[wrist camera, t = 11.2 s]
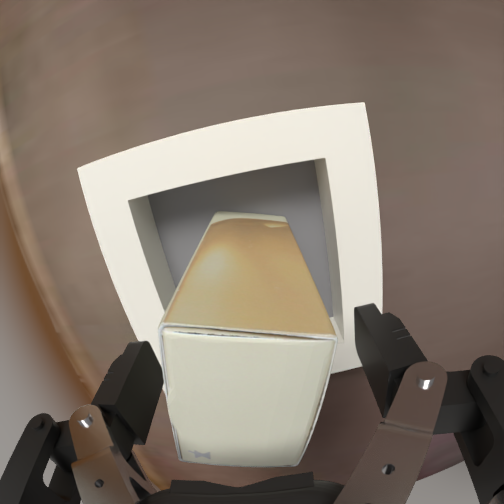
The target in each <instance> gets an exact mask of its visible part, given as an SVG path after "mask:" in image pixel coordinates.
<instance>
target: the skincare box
mask: <svg viewBox="0 0 504 504" xmlns="http://www.w3.org/2000/svg"><path fill="white" fill-rule="evenodd" d="M158 338H159V348H160V357H161V365H162V372H163V379H164V385H165V392H166V400H167V406H168V412H169V416H170V420H171V424H172V430H173V435H174V439H175V444H176V449H177V453H178V458H179V460H181V461H183V462H190V463H202V464H210V465H223V466H240V467H286V466H290V467H293V466H297V465H298V464H299V463H300V461H301V459H302V457H303V455H304V453H305V450H306V449H307V446H308V444H309V441H310V439H311V436H312V433H313V431H314V428H315V425H316V422H317V419H318V416H319V413H320V410H321V407H322V403H323V400H324V397H325V393H326V390H327V386H328V382H329V378H330V373H331V370H332V366H333V361H334V356H335V352H336V348H337V343H338V337H337V335H336V333H335V330H334V327H333V325H332V323H331V320H330V318H329V316H328V313H327V311H326V308H325V306H324V303H323V301H322V299H321V297H320V294H319V292H318V289H317V287H316V285H315V282H314V280H313V278H312V276H311V273H310V271H309V269H308V267H307V264H306V262H305V260H304V258H303V255H302V253H301V251H300V248H299V246H298V244H297V242H296V240H295V237H294V235H293V233H292V231H291V229H290V226H289V224H288V222H287V220H286V218H285V217H284V216H276V215H267V214H256V213H243V212H227V211H218V212H216V213H215V214H214V216H213V218H212V220H211V222H210V223H209V225H208V227H207V229H206V231H205V233H204V235H203V237H202V239H201V241H200V243H199V245H198V247H197V249H196V250H195V252H194V254H193V256H192V258H191V260H190V262H189V264H188V266H187V268H186V270H185V272H184V274H183V276H182V278H181V280H180V282H179V284H178V286H177V288H176V291H175V293H174V295H173V297H172V299H171V301H170V303H169V305H168V307H167V309H166V311H165V313H164V315H163V317H162V319H161V321H160V324H159V326H158Z"/></svg>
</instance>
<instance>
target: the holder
mask: <svg viewBox="0 0 504 504" xmlns="http://www.w3.org/2000/svg"><path fill="white" fill-rule="evenodd" d="M77 170H78V174H79V178H80V182H81V186H82V189H83V193H84V197H85V200H86V204H87V207H88V210H89V214H90V217H91V220H92V223H93V227H94V230H95V233H96V236H97V239H98V242H99V245H100V248H101V251H102V253H103V256H104V259H105V262H106V265H107V267H108V270H109V273H110V275H111V278H112V280H113V283H114V285H115V288H116V291H117V293H118V295H119V298H120V300H121V303H122V305H123V307H124V310H125V312H126V314H127V317H128V319H129V321H130V324H131V326H132V328H133V330H134V332H135V335H136V337H137V339H138V341H148V342H149V343H150V344H151V346H152V349H153V351H154V353H155V355H156V357H157V359H158V361H159V363H160V365H161V357H160V348H159V338H158V326H159V324H160V321H161V319H162V317H163V315H164V313H165V311H166V309H167V307H168V305H169V303H170V301H171V299H172V297H173V295H174V293H175V291H176V288H177V286H178V284H179V282H180V280H181V278H182V276H183V274H184V272H185V270H186V268H187V266H188V264H189V262H190V260H191V258H192V256H193V254H194V252H195V250H196V249H197V247H198V245H199V243H200V241H201V239H202V237H203V235H204V233H205V231H206V229H207V227H208V225H209V223H210V222H211V220H212V218H213V216H214V214H215V213H216V212H218V211H227V212H243V213H256V214H267V215H276V216H284V217H285V218H286V220H287V222H288V224H289V226H290V229H291V231H292V233H293V235H294V237H295V240H296V242H297V244H298V246H299V248H300V251H301V253H302V255H303V258H304V260H305V262H306V264H307V267H308V269H309V271H310V273H311V276H312V278H313V280H314V282H315V285H316V287H317V289H318V292H319V294H320V297H321V299H322V301H323V303H324V306H325V308H326V311H327V313H328V316H329V318H330V320H331V323H332V325H333V327H334V330H335V333H336V335H337V337H338V343H337V348H336V352H335V356H334V361H333V366H332V370H331V373H330V374H332V373H336V372H341V371H345V370H349V369H353V368H357V367H361V366H362V364H361V361H360V359H359V357H358V354H357V351H356V346H355V330H354V308H355V307H358V306H362V305H366V304H370V303H374V304H375V305H376V306H377V308H378V309H379V311H380V313H381V314H382V249H381V229H380V215H379V203H378V192H377V182H376V173H375V165H374V158H373V150H372V144H371V137H370V131H369V125H368V119H367V114H366V108H365V103H364V102H363V103H350V104H340V105H330V106H321V107H313V108H305V109H298V110H291V111H285V112H279V113H273V114H267V115H261V116H256V117H251V118H246V119H241V120H236V121H231V122H227V123H222V124H218V125H214V126H209V127H205V128H201V129H197V130H193V131H189V132H185V133H182V134H178V135H174V136H171V137H167V138H164V139H160V140H157V141H154V142H150V143H147V144H144V145H141V146H138V147H135V148H131V149H128V150H125V151H123V152H120V153H117V154H114V155H111V156H108V157H105V158H103V159H100V160H97V161H95V162H92V163H89V164H87V165H84V166H82V167H79V168H77ZM161 367H162V365H161ZM162 388H163V390H164V392H165V385H164V384H163V387H162ZM165 394H166V392H165Z"/></svg>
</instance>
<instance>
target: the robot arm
mask: <svg viewBox="0 0 504 504" xmlns="http://www.w3.org/2000/svg"><path fill="white" fill-rule="evenodd" d="M354 330H355V346H356V351H357V354H358V357H359V359H360V361H361V364H362V366H363V369H364V371H365V374H366V376H367V379H368V381H369V384H370V386H371V389H372V391H373V394H374V396H375V399H376V401H377V404H378V407H379V409H380V412H381V414H382V417H383V418H385V417H386V418H385V420H384V422H381V423H380V424H379V426H378V427H377V429H376V431H375V433H374V435H373V437H372V439H371V441H370V443H369V445H368V447H367V448H366V450H365V452H364V454H363V456H362V458H361V459H360V461H359V463H358V465H357V466H356V468H355V470H354V472H353V473H352V475H351V477H350V478H349V480H348V481H347V483H346V485H345V486H344V485H342V484H339V483H335V482H330V481H323V480H314V478H313V472H308V473H302V474H295V475H288V476H280V477H274V478H271V479H268V480H265V481H262V482H258V483H255V484H251V485H248V486H244V487H238V488H237V487H231V486H225V485H220V484H216V483H211V482H206V481H186V480H172V481H171V487H170V489H166V490H162V491H159V492H157V491H156V490H155V488H154V487H153V486H152V484H151V482H150V481H149V479H148V477H147V475H146V473H145V472H144V470H143V468H142V466H141V464H140V462H139V460H138V459H137V457H136V455H135V453H134V452H133V450H132V447H133V444H138V445H145V443H146V439H147V436H148V433H149V429H150V426H151V423H152V419H153V416H154V413H155V409H156V406H157V403H158V400H159V397H160V393H161V390H162V387H163V384H164V379H163V372H162V367H161V365H160V363H159V361H158V359H157V357H156V355H155V353H154V351H153V349H152V346H151V344H150V343H149V342H148V341H138V342H130V343H129V344H128V345H127V347H126V349H125V351H124V353H123V355H120V356H119V357H118V358H117V359H116V360H115V361H114V362H113V363H112V364H111V366H110V368H109V370H108V374H106V376H105V378H104V381H102V383H101V385H100V387H99V389H98V391H97V393H96V395H95V397H94V399H93V401H92V403H91V405H85V406H82V407H80V408H78V409H77V410H75V411H74V412H73V414H72V415H71V417H70V419H69V420H67V421H62V422H55V421H54V420H53V418H52V417H51V416H50V415H49V414H46V413H42V414H39V415H36V416H35V417H33V418H32V419H31V420H30V421H29V423H28V424H27V426H26V428H25V430H24V432H23V434H22V436H21V438H20V440H19V441H18V444H17V445H16V448H15V450H14V452H13V454H12V456H11V458H10V460H9V462H8V464H7V466H6V469H5V471H4V473H3V475H2V477H1V480H0V504H80V501H81V500H82V503H83V504H405V503H406V501H407V499H408V497H409V495H410V493H411V490H412V488H413V486H414V484H415V481H416V479H417V477H418V474H419V472H420V469H421V467H422V464H423V462H424V459H425V456H426V454H427V451H428V448H429V445H430V442H431V439H432V436H433V435H435V434H445V433H454V436H455V438H456V441H457V443H458V445H459V448H460V450H461V453H462V455H463V458H464V460H465V463H466V466H467V468H468V471H469V474H470V476H471V479H472V482H473V484H474V488H475V490H476V493H477V496H478V499H479V502H480V504H504V361H503V360H502V359H501V358H499V357H496V356H491V355H486V356H482V357H479V358H478V359H476V360H475V361H474V362H473V364H472V366H471V369H470V370H465V371H455V372H446V371H445V369H444V368H443V367H441V366H440V365H438V364H436V363H434V362H428V361H427V359H426V358H425V356H424V354H423V353H422V351H421V350H420V348H419V347H418V345H417V344H416V342H415V341H414V339H413V338H412V336H410V333H409V332H408V330H407V329H405V326H404V325H403V323H402V322H401V320H400V319H399V318H397V317H396V316H394V315H393V314H391V313H385V314H381V313H380V311H379V309H378V308H377V306H376V305H375V304H374V303H370V304H366V305H362V306H358V307H355V308H354ZM49 458H50V459H51V460H52V461H53V462H54V463H55V464H56V468H55V471H54V473H53V476H52V479H51V481H50V484H49V487H47V486H46V485H45V484H44V482H43V473H44V470H45V468H46V465H47V463H48V461H49Z"/></svg>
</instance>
